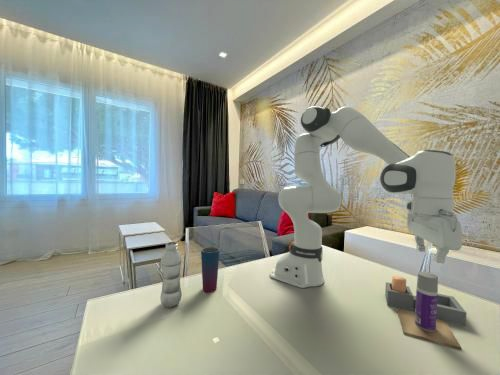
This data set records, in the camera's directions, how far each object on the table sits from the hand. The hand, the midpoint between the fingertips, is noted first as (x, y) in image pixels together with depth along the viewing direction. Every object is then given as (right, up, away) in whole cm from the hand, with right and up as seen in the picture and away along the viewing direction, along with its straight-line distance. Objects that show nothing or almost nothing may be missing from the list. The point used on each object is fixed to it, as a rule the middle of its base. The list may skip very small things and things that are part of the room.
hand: (429, 256), depth 63 cm
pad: (0, -21, +1) cm, 21 cm away
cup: (-66, -19, +20) cm, 71 cm away
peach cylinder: (0, -20, +14) cm, 24 cm away
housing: (+6, -21, +11) cm, 24 cm away
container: (-1, -20, +1) cm, 21 cm away
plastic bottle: (-76, -19, +10) cm, 79 cm away
